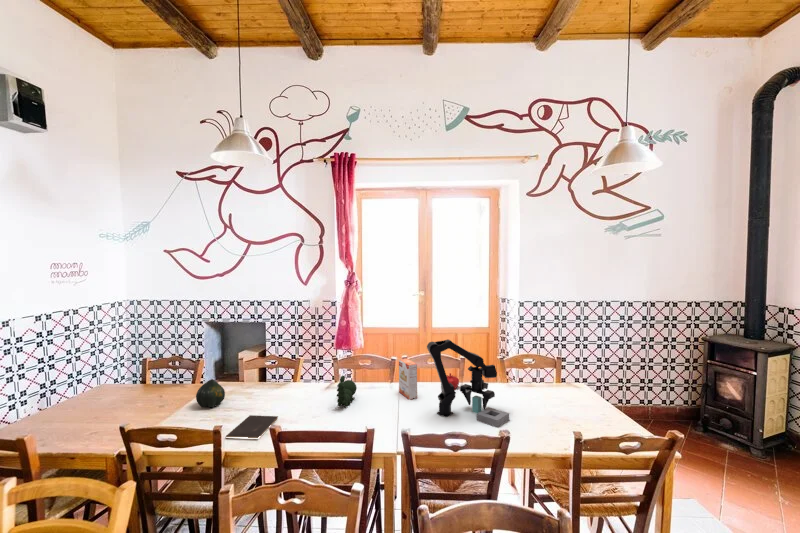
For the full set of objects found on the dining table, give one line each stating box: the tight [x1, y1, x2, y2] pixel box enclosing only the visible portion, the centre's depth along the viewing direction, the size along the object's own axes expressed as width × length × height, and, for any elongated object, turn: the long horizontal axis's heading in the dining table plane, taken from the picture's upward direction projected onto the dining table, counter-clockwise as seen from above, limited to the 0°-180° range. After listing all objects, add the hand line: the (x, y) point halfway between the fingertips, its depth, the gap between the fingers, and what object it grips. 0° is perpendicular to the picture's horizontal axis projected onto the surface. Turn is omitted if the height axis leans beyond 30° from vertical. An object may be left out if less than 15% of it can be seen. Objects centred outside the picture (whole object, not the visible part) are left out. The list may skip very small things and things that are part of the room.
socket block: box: [475, 406, 510, 428], centre depth 204 cm, size 12×12×4 cm
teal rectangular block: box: [471, 395, 483, 414], centre depth 215 cm, size 4×4×8 cm
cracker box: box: [398, 357, 418, 400], centre depth 239 cm, size 14×6×21 cm, turn 25°
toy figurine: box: [336, 375, 357, 407], centre depth 229 cm, size 9×19×25 cm
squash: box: [195, 378, 226, 408], centre depth 226 cm, size 14×15×15 cm
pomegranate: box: [446, 372, 460, 390], centre depth 253 cm, size 10×10×9 cm
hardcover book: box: [225, 414, 279, 438], centre depth 196 cm, size 16×23×2 cm
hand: (476, 407), depth 215 cm, fingers open, 9 cm apart
